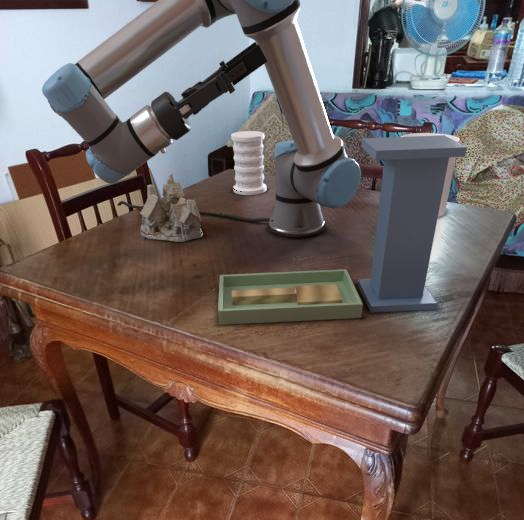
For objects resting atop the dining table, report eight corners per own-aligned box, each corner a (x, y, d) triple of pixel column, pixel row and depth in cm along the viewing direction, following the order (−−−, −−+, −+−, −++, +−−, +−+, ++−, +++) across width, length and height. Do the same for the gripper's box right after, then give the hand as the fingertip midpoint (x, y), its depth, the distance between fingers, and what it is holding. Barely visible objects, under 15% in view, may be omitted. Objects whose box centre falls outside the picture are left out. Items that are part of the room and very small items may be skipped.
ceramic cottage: (137, 228, 135) (130, 174, 126) (192, 221, 140) (189, 169, 131) (148, 250, 123) (142, 193, 114) (208, 242, 129) (206, 187, 120)
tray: (219, 325, 90) (217, 311, 89) (220, 287, 103) (219, 274, 102) (361, 318, 91) (362, 304, 90) (345, 281, 104) (346, 269, 102)
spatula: (232, 310, 94) (231, 301, 93) (232, 294, 99) (231, 285, 98) (342, 305, 94) (342, 296, 93) (335, 289, 100) (336, 280, 99)
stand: (360, 313, 93) (377, 152, 76) (348, 285, 103) (361, 137, 86) (435, 309, 93) (469, 148, 76) (416, 282, 103) (442, 134, 86)
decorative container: (270, 193, 160) (269, 135, 150) (237, 196, 158) (234, 138, 147) (261, 184, 169) (260, 129, 159) (230, 187, 167) (226, 132, 157)
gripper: (181, 129, 98) (267, 67, 93) (167, 156, 78) (277, 79, 72) (158, 94, 94) (247, 27, 89) (137, 114, 74) (251, 28, 68)
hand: (261, 50), depth 81 cm, fingers open, 13 cm apart
